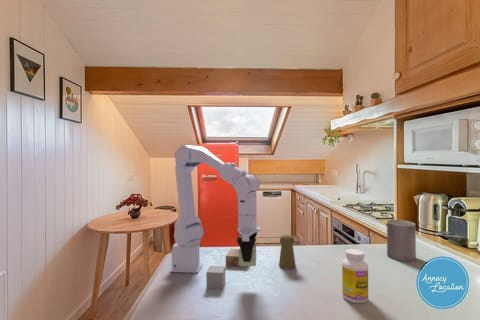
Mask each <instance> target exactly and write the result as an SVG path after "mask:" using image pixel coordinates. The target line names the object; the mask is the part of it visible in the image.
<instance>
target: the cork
mask: <svg viewBox="0 0 480 320" xmlns="http://www.w3.org/2000/svg"><path fill="white" fill-rule="evenodd" d="M279 243H280V245H281V246H280V252H279V253H280V254H279V263H278V266H279V268H280V269H283V270H293V269H295V268H296V267H297V266H296V265H297V264H296V258H295V252H294V244H295V237H294V236H292V235H290V234H284V235H281V236H280V237H279Z"/></svg>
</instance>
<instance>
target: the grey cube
mask: <svg viewBox="0 0 480 320" xmlns="http://www.w3.org/2000/svg"><path fill="white" fill-rule="evenodd" d="M205 272H206V289H208V290H214V289H215V290H224V288H225V283H226V265H224V266H223V265H209V267H208V268H207V270H206V271H205Z"/></svg>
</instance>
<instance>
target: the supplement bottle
mask: <svg viewBox="0 0 480 320" xmlns="http://www.w3.org/2000/svg"><path fill="white" fill-rule="evenodd" d="M345 257H346V258H344V259H343V260H342V263H341V266H342V267H341V268H342V269H341V270H342V271H341V274H342V276H341V278H342V280H341V281H342V283H341V286H342V290H341V291H342V292H341V293H342V296H343V298H344V299H345V300H346V301H348V302H351V303H353V304H365V303H367V302H368V300H369V264H368V263H367V262H366V261H365V260H364V259H365V252H364V251H362V250H360V249H355V248H354V249H353V248H352V249H351V248H349V249H346V250H345Z"/></svg>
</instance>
